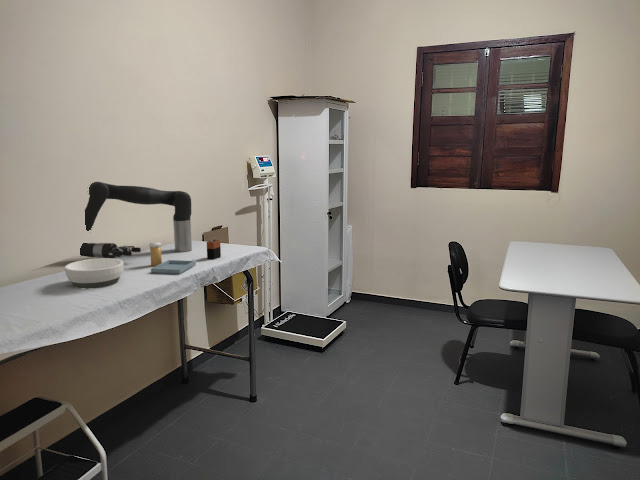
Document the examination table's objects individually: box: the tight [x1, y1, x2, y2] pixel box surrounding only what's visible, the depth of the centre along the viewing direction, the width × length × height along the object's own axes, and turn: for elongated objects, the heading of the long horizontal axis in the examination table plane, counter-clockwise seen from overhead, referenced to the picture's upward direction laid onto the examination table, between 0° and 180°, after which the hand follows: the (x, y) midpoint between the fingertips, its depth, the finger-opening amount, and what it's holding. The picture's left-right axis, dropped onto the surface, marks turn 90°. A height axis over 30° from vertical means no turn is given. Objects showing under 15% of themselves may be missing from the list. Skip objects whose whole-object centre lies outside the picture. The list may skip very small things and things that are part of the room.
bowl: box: [64, 258, 124, 290], centre depth 202 cm, size 22×22×8 cm
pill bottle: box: [148, 241, 163, 267], centre depth 233 cm, size 5×5×11 cm
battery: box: [206, 237, 222, 260], centre depth 250 cm, size 4×7×10 cm, turn 158°
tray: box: [150, 259, 197, 275], centre depth 226 cm, size 18×14×2 cm
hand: (135, 251), depth 234 cm, fingers open, 8 cm apart
